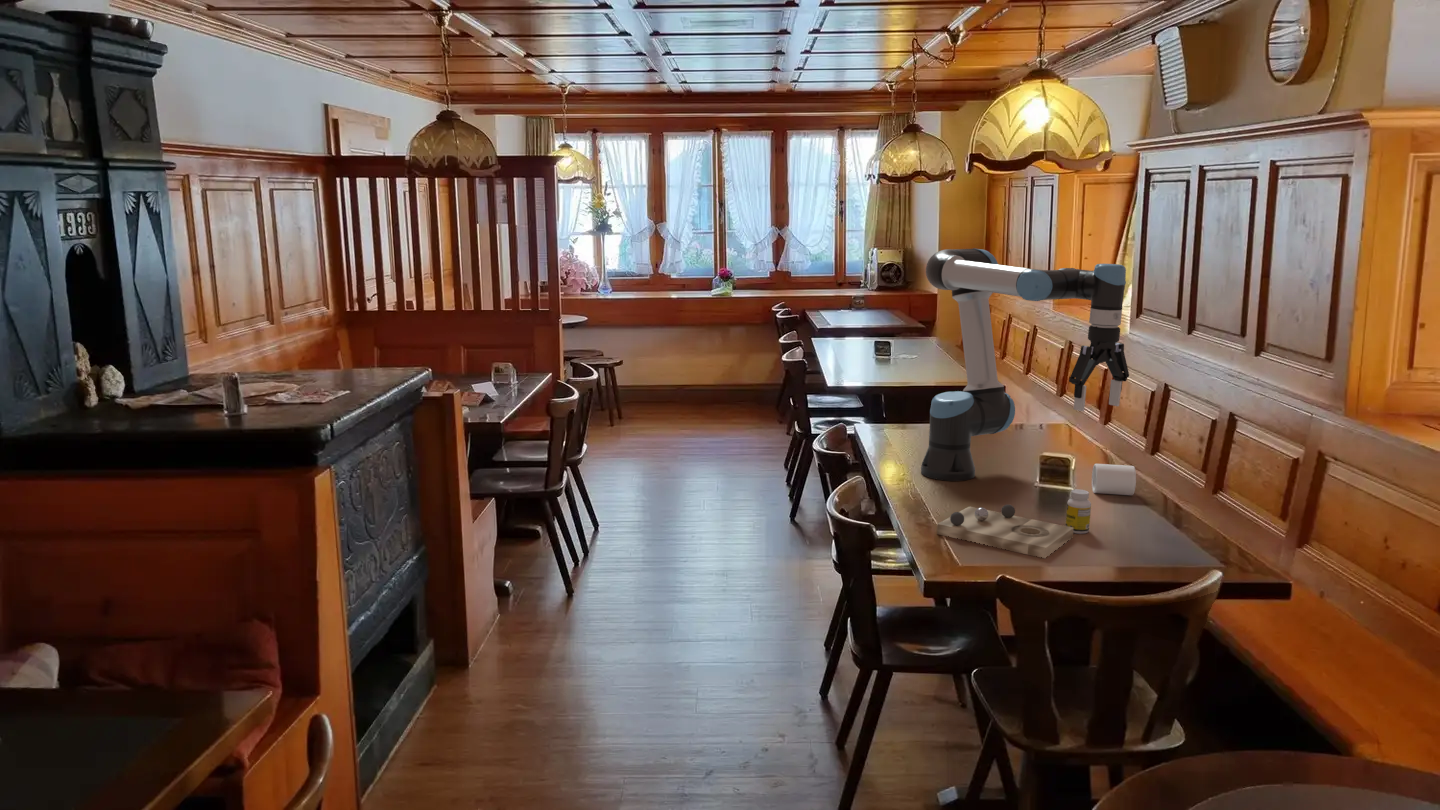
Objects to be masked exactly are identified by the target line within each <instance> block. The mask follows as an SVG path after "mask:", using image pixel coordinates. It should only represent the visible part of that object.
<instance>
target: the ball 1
mask: <svg viewBox="0 0 1440 810" xmlns="http://www.w3.org/2000/svg"><path fill="white" fill-rule="evenodd" d="M949 517H950V520H951V523H952V524H954V525H956V526H959V525H961V524H962V523H963V522H964V516H963V514H962V513H960V511H954V512H953V513H951V515H950V516H949Z"/></svg>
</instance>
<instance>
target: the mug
mask: <svg viewBox="0 0 1440 810" xmlns="http://www.w3.org/2000/svg"><path fill="white" fill-rule="evenodd" d="M1136 471H1137V470H1136V467H1135V466H1134V465H1127V464H1125V465H1124V464H1123V465H1122V464H1107V463H1094V465H1093V467H1092V472H1091V488H1092V489H1091V490H1092V492H1093V494H1104V495H1120V496H1133V495H1134V493H1135V491H1136V485H1137V473H1136Z"/></svg>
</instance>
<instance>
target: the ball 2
mask: <svg viewBox="0 0 1440 810" xmlns="http://www.w3.org/2000/svg"><path fill="white" fill-rule="evenodd" d="M1015 509H1016V508H1015V507H1014V506H1013V505H1011V504H1005V505H1003V506H1002V507H1001V512H1000V513H1002V515H1003V516H1004V517H1006V518H1011V517H1012V516H1015V514H1016V510H1015Z"/></svg>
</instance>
